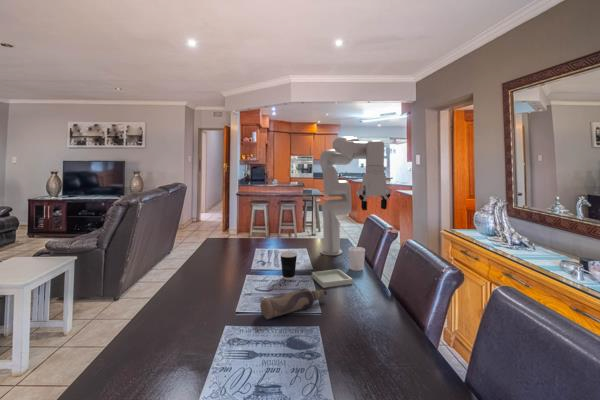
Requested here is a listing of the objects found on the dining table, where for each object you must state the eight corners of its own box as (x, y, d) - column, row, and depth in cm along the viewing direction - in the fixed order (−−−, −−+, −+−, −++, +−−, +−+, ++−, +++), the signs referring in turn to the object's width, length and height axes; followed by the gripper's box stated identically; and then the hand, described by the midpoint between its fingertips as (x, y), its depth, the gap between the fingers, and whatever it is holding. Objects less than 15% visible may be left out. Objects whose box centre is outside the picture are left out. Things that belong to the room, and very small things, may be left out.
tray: (311, 276, 134) (311, 272, 134) (338, 273, 138) (338, 269, 138) (323, 287, 121) (323, 282, 121) (352, 283, 126) (352, 278, 125)
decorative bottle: (269, 324, 93) (269, 303, 92) (259, 314, 99) (259, 295, 99) (333, 304, 107) (333, 286, 106) (321, 296, 113) (321, 280, 112)
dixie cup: (283, 282, 128) (283, 257, 127) (277, 276, 135) (277, 252, 134) (300, 279, 131) (300, 255, 130) (293, 273, 138) (293, 250, 137)
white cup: (363, 266, 148) (363, 246, 147) (365, 271, 141) (365, 251, 140) (347, 265, 149) (348, 246, 148) (349, 271, 141) (349, 250, 140)
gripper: (386, 169, 132) (386, 207, 134) (352, 170, 127) (352, 209, 129) (397, 169, 125) (396, 209, 127) (361, 170, 120) (360, 211, 121)
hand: (374, 209), depth 128 cm, fingers open, 9 cm apart
